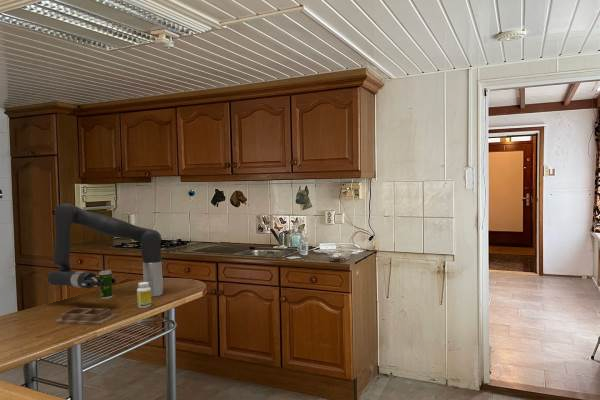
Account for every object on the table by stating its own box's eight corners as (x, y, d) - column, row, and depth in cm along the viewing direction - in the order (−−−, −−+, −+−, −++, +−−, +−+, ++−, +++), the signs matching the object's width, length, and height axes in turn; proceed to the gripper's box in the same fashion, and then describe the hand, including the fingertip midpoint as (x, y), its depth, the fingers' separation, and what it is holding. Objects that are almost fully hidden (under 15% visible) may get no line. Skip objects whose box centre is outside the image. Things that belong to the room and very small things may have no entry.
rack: (55, 323, 185) (54, 315, 185) (74, 314, 197) (73, 306, 197) (100, 325, 182) (100, 316, 181) (117, 315, 193) (117, 308, 193)
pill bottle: (154, 304, 209) (153, 281, 209) (145, 308, 203) (144, 284, 203) (143, 303, 211) (142, 281, 211) (134, 307, 206) (133, 284, 205)
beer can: (109, 294, 207) (108, 269, 206) (115, 296, 203) (113, 270, 202) (98, 297, 202) (96, 271, 202) (103, 299, 199) (102, 273, 198)
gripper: (69, 275, 202) (96, 277, 195) (95, 268, 215) (121, 271, 208) (70, 291, 202) (97, 294, 195) (96, 284, 215) (122, 286, 208)
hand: (109, 282), depth 201 cm, fingers closed on beer can, 5 cm apart
